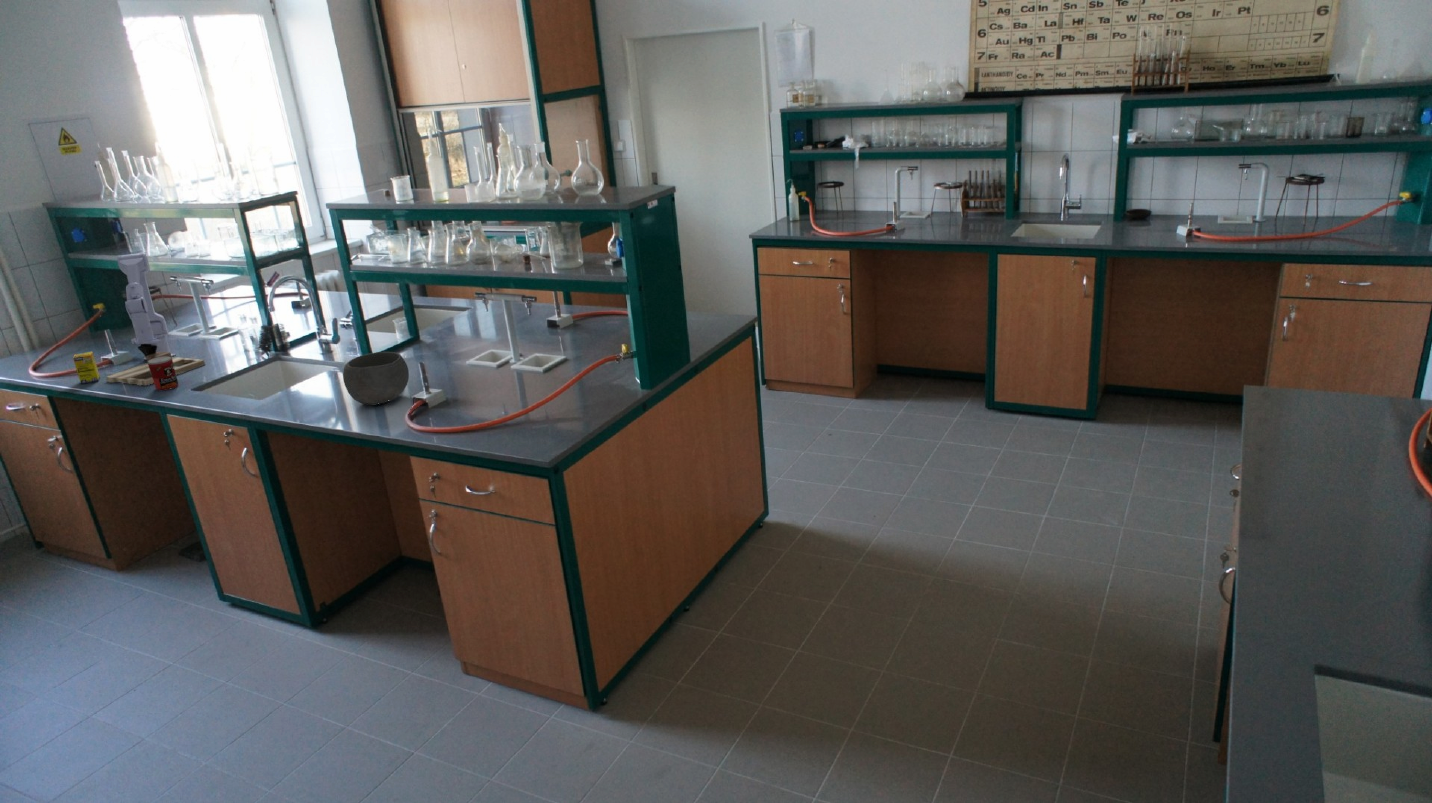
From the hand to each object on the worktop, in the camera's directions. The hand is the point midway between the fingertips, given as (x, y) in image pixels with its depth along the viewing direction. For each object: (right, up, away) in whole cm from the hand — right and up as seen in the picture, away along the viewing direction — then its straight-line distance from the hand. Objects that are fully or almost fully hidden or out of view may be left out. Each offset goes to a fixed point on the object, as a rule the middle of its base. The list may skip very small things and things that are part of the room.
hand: (152, 362), depth 364 cm
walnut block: (+4, -3, -1) cm, 5 cm away
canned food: (+16, -10, -17) cm, 25 cm away
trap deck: (+1, -4, +1) cm, 4 cm away
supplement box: (-22, -8, -4) cm, 23 cm away
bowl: (+107, -15, -46) cm, 117 cm away
